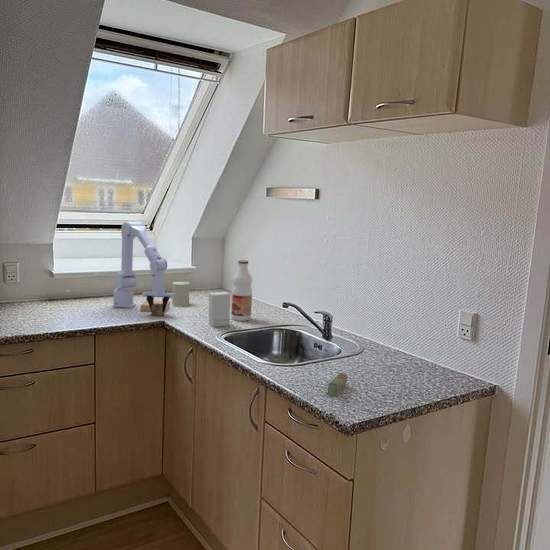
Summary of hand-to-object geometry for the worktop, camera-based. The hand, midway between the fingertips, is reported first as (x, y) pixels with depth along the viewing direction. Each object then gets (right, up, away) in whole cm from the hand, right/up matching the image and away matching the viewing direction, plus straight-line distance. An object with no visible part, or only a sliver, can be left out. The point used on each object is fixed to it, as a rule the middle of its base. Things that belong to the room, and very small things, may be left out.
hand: (157, 311), depth 250 cm
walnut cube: (0, -1, 0) cm, 1 cm away
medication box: (+75, -18, -89) cm, 118 cm away
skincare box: (+31, -5, -15) cm, 34 cm away
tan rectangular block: (-4, +1, +12) cm, 13 cm away
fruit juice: (+40, -4, -1) cm, 40 cm away
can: (+6, +2, +26) cm, 27 cm away
